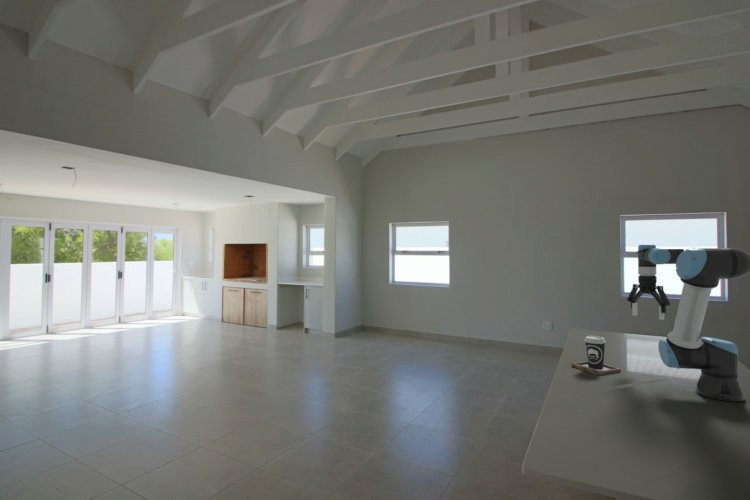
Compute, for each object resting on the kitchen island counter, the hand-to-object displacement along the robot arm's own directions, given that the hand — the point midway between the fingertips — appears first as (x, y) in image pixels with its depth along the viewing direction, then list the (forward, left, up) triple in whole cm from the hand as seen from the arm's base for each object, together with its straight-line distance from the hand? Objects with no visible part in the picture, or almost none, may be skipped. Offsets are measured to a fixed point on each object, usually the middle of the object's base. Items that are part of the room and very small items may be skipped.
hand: (647, 317), depth 198 cm
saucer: (+9, +25, -26) cm, 37 cm away
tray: (+9, +25, -27) cm, 38 cm away
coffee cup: (+9, +25, -25) cm, 36 cm away
